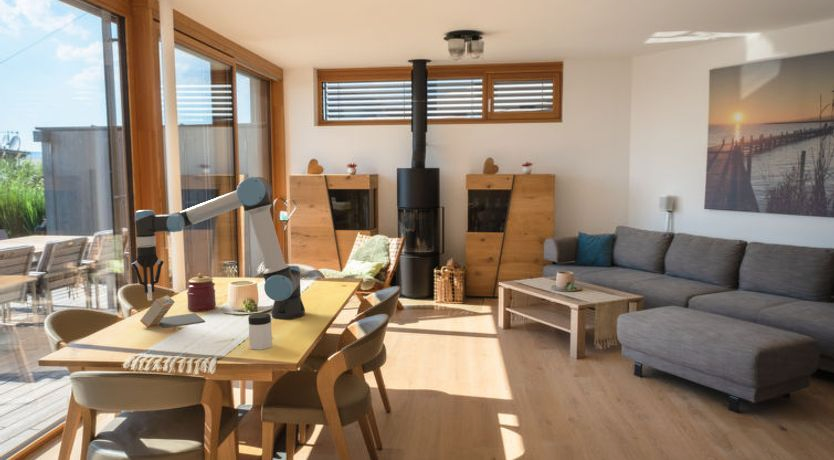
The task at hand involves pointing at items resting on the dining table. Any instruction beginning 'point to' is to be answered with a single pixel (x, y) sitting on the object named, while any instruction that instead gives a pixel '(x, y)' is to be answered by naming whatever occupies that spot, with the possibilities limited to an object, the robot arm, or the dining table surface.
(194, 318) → the mat
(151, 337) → the dining table surface
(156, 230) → the robot arm
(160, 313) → the supplement box
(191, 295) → the canister
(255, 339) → the jar
